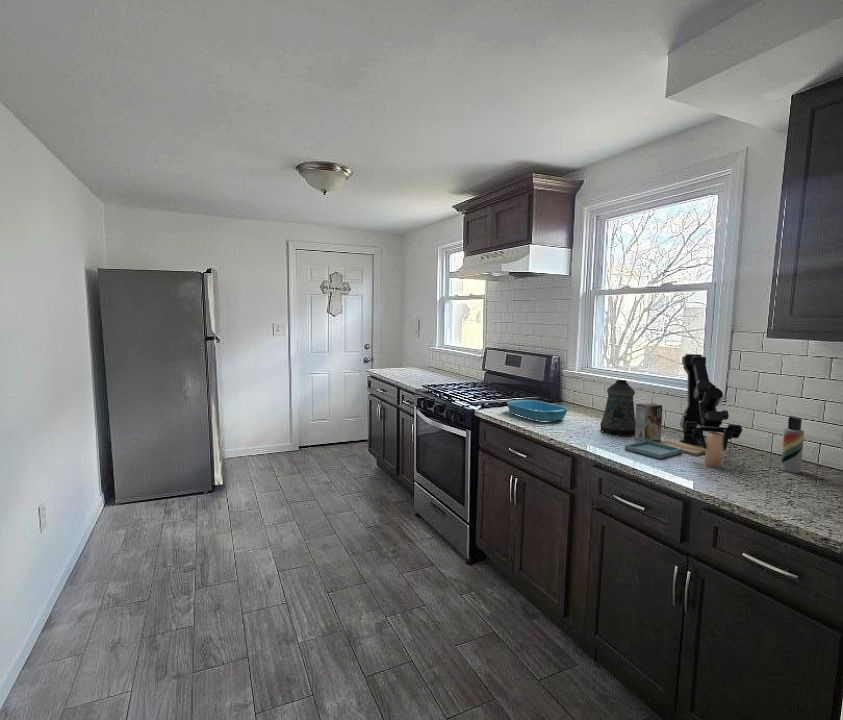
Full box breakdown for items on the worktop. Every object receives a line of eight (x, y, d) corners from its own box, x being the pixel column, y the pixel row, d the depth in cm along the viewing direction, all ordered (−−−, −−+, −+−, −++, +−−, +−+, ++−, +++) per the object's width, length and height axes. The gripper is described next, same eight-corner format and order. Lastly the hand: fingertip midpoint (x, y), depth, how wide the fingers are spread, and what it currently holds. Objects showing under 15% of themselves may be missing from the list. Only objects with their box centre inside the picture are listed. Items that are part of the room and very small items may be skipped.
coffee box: (650, 436, 217) (652, 402, 216) (661, 440, 211) (663, 405, 210) (634, 438, 215) (635, 403, 213) (644, 441, 209) (646, 406, 207)
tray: (646, 444, 203) (646, 440, 203) (681, 453, 191) (681, 448, 190) (624, 450, 195) (625, 445, 195) (659, 459, 183) (660, 454, 182)
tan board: (670, 442, 208) (670, 439, 207) (710, 452, 193) (710, 449, 193) (655, 446, 202) (655, 443, 202) (696, 456, 187) (696, 453, 187)
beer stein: (602, 435, 219) (604, 382, 217) (597, 425, 238) (599, 377, 236) (640, 437, 216) (643, 383, 213) (632, 428, 234) (634, 378, 232)
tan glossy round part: (709, 462, 180) (711, 431, 178) (723, 466, 175) (726, 434, 174) (702, 464, 177) (704, 433, 176) (716, 468, 172) (718, 436, 171)
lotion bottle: (781, 467, 174) (785, 414, 172) (800, 470, 171) (805, 416, 169) (780, 471, 170) (784, 416, 168) (800, 474, 166) (805, 419, 164)
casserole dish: (499, 412, 270) (499, 400, 269) (530, 409, 280) (530, 397, 279) (542, 426, 237) (543, 412, 237) (575, 422, 247) (576, 409, 247)
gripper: (686, 400, 180) (691, 435, 171) (742, 403, 175) (751, 440, 165) (680, 416, 189) (685, 450, 179) (734, 420, 183) (741, 455, 173)
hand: (715, 449), depth 174 cm, fingers open, 6 cm apart
